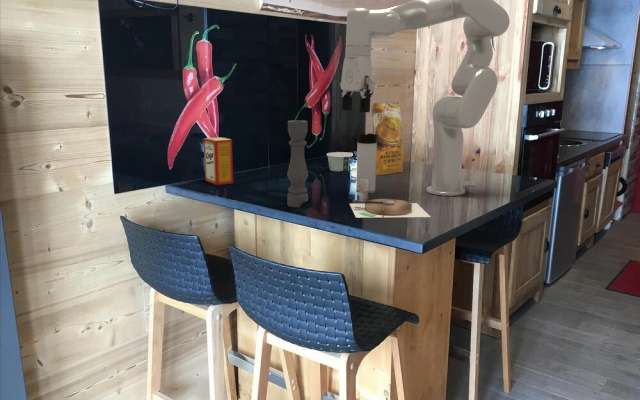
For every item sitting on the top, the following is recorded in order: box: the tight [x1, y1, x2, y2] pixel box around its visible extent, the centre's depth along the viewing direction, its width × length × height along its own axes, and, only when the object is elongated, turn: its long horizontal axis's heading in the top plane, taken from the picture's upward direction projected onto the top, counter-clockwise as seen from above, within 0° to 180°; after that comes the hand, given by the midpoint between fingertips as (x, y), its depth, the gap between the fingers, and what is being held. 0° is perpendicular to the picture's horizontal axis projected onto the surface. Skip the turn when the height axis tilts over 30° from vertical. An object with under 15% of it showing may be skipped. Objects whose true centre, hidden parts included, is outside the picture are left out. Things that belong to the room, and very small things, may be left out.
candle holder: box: [286, 119, 309, 208], centre depth 160 cm, size 6×6×25 cm
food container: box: [326, 151, 353, 172], centre depth 224 cm, size 12×12×6 cm
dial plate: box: [349, 202, 431, 219], centre depth 151 cm, size 20×16×2 cm
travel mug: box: [355, 132, 377, 194], centre depth 178 cm, size 6×7×20 cm
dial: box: [352, 179, 412, 215], centre depth 150 cm, size 16×13×8 cm
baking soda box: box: [203, 136, 234, 186], centre depth 195 cm, size 10×6×16 cm
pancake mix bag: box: [371, 102, 404, 176], centre depth 215 cm, size 7×19×28 cm, turn 130°
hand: (355, 111), depth 163 cm, fingers open, 9 cm apart
